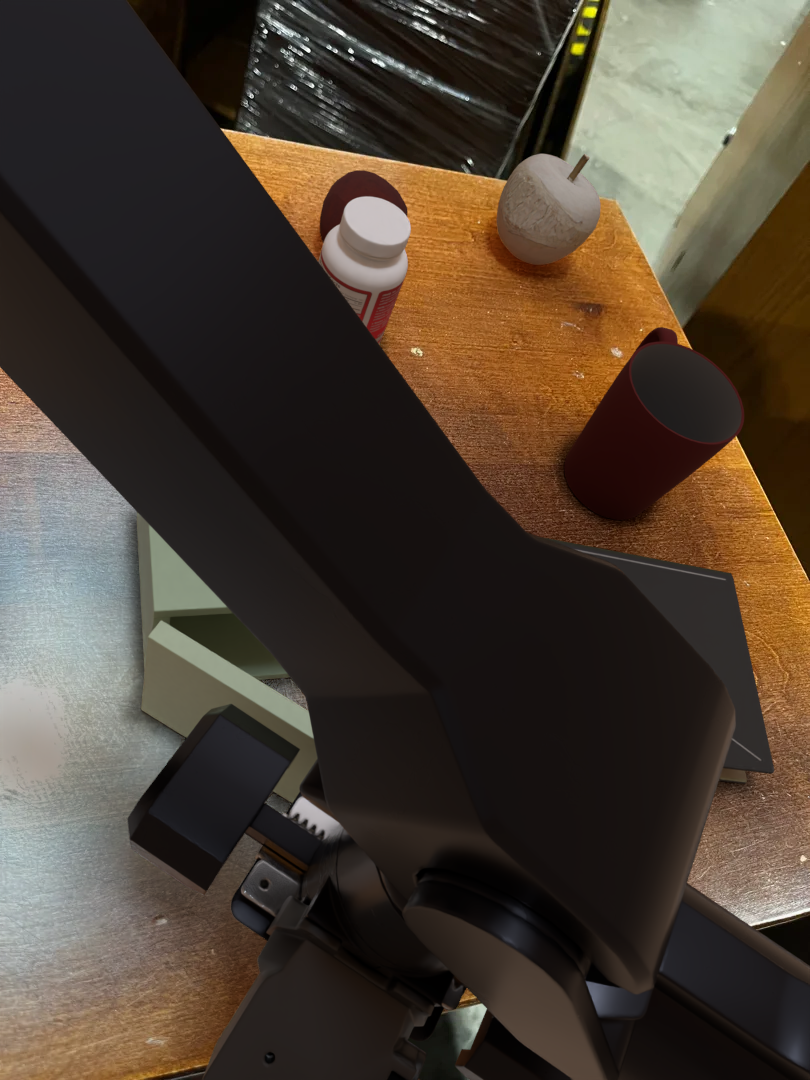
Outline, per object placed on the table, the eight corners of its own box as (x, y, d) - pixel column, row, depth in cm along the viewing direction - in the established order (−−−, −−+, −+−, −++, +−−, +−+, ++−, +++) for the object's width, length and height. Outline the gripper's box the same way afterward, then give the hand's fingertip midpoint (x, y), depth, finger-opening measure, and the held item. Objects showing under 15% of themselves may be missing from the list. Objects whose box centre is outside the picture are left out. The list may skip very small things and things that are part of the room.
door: (336, 955, 41) (394, 937, 33) (76, 794, 41) (67, 736, 33) (390, 842, 45) (455, 801, 36) (151, 695, 45) (161, 619, 36)
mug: (549, 395, 67) (618, 297, 58) (644, 419, 69) (724, 327, 60) (558, 516, 61) (636, 427, 52) (662, 538, 63) (755, 456, 54)
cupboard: (406, 667, 51) (467, 594, 42) (145, 690, 45) (153, 611, 36) (375, 516, 56) (424, 423, 47) (136, 520, 50) (141, 415, 41)
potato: (415, 251, 71) (438, 193, 66) (363, 295, 66) (384, 237, 61) (347, 203, 71) (365, 142, 66) (292, 244, 66) (306, 182, 62)
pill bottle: (368, 307, 66) (410, 192, 56) (386, 366, 63) (432, 255, 54) (294, 304, 63) (324, 183, 54) (308, 364, 61) (343, 249, 51)
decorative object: (470, 255, 73) (515, 158, 65) (496, 205, 78) (541, 109, 70) (556, 300, 73) (613, 210, 65) (577, 247, 78) (631, 157, 70)
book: (707, 587, 62) (732, 569, 59) (745, 784, 54) (775, 773, 51) (438, 538, 56) (453, 516, 54) (438, 748, 49) (455, 734, 46)
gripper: (-18, 948, 21) (42, 980, 34) (596, 1376, 20) (417, 1242, 33) (235, 630, 27) (205, 759, 40) (711, 943, 26) (524, 973, 39)
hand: (329, 924), depth 38 cm, fingers closed
